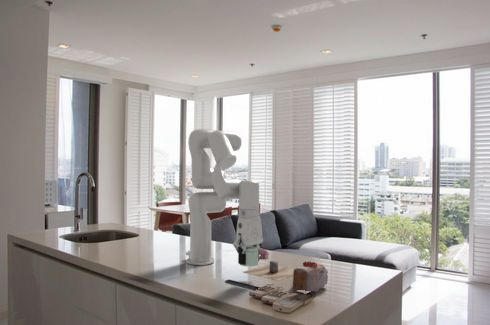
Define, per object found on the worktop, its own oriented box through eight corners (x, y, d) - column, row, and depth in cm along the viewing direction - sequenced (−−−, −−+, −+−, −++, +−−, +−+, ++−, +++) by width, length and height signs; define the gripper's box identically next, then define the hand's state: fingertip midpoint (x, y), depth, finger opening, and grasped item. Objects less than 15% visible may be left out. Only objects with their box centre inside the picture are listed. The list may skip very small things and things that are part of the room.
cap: (249, 267, 140) (249, 249, 141) (236, 264, 145) (236, 247, 145) (261, 264, 145) (261, 247, 146) (248, 261, 150) (248, 244, 150)
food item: (310, 283, 147) (310, 256, 147) (329, 287, 142) (329, 259, 142) (290, 291, 136) (290, 263, 137) (310, 296, 131) (310, 266, 132)
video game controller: (268, 264, 182) (270, 249, 185) (267, 262, 178) (268, 247, 181) (248, 263, 185) (249, 248, 188) (245, 260, 181) (247, 245, 184)
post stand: (241, 275, 156) (241, 261, 156) (269, 267, 170) (269, 254, 170) (278, 284, 144) (278, 269, 144) (305, 275, 158) (305, 261, 158)
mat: (225, 282, 146) (225, 280, 146) (242, 277, 154) (242, 275, 154) (254, 290, 137) (254, 288, 137) (271, 284, 144) (271, 282, 144)
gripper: (240, 216, 137) (240, 268, 136) (271, 212, 150) (271, 260, 149) (225, 214, 142) (225, 265, 141) (256, 211, 155) (256, 257, 154)
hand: (248, 262), depth 145 cm, fingers closed on cap, 6 cm apart
